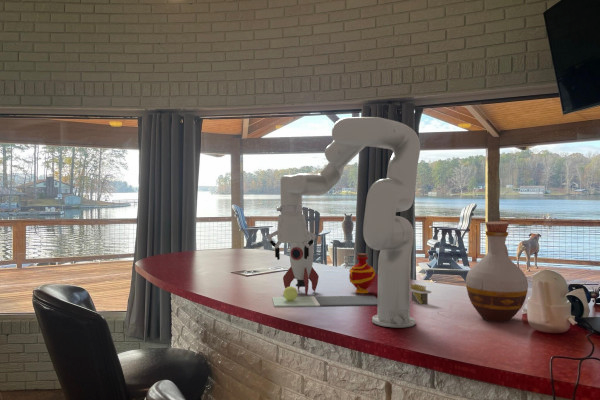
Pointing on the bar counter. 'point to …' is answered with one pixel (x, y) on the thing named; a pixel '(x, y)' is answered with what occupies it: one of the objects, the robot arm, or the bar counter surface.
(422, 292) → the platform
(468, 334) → the bar counter surface
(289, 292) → the ball
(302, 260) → the toy
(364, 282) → the potion bottle
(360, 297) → the strip
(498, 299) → the jug
